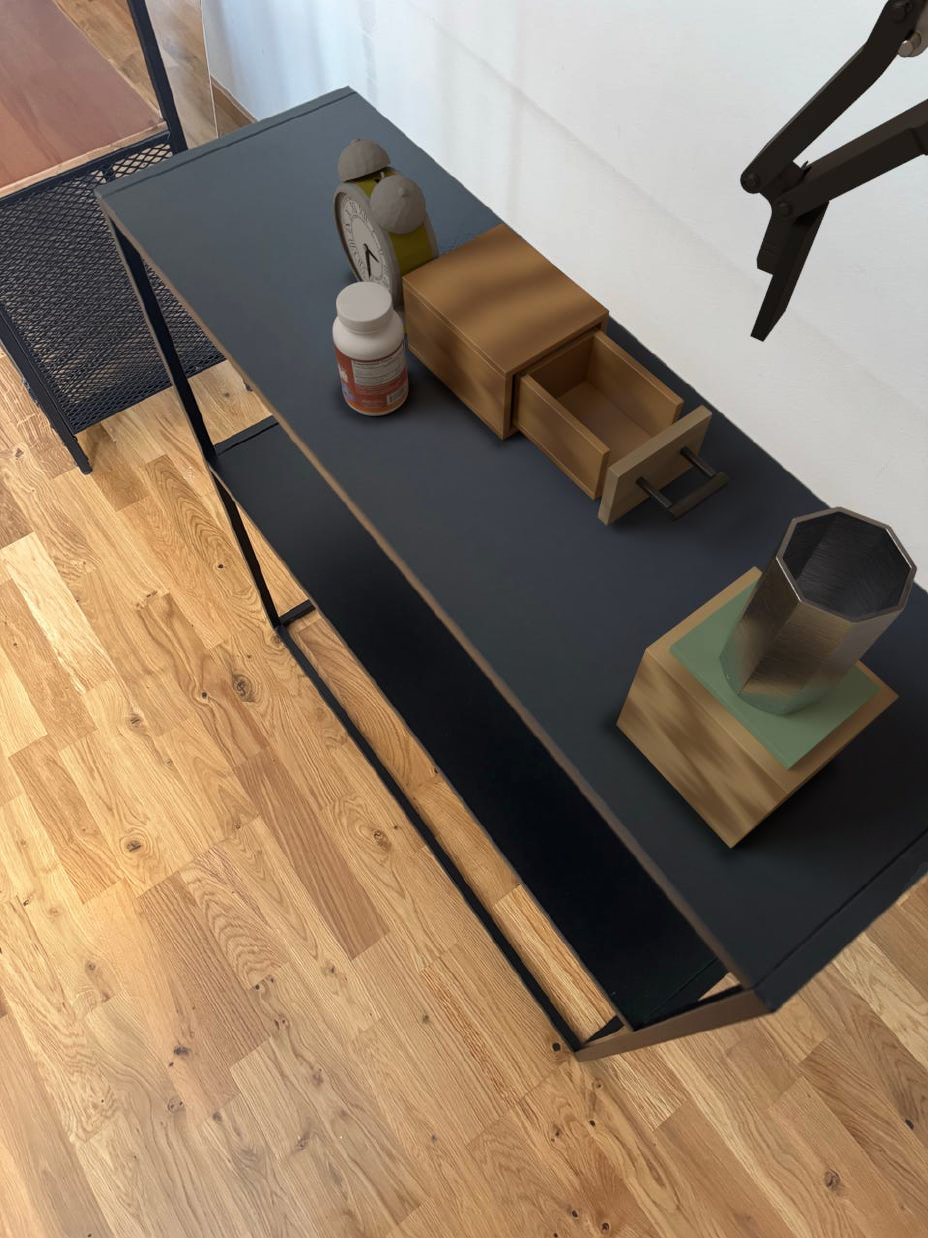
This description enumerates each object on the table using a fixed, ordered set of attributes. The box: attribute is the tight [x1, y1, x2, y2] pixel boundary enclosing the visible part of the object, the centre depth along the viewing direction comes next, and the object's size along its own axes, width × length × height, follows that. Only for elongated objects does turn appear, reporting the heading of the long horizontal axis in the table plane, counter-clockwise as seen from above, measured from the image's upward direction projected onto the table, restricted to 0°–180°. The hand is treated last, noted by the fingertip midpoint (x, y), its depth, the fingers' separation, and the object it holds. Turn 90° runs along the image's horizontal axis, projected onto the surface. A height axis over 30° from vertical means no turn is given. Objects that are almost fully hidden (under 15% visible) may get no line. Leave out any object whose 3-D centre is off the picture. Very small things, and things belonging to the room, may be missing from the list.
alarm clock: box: [332, 137, 440, 335], centre depth 83 cm, size 12×7×15 cm, turn 33°
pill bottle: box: [332, 281, 409, 417], centre depth 78 cm, size 6×6×11 cm
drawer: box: [513, 326, 730, 527], centre depth 75 cm, size 18×10×7 cm, turn 38°
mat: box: [669, 578, 881, 770], centre depth 55 cm, size 10×8×1 cm
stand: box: [615, 566, 900, 849], centre depth 61 cm, size 12×10×13 cm
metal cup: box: [719, 505, 918, 715], centre depth 49 cm, size 6×6×12 cm
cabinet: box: [402, 222, 610, 441], centre depth 81 cm, size 15×12×9 cm
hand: (891, 379), depth 44 cm, fingers open, 13 cm apart
